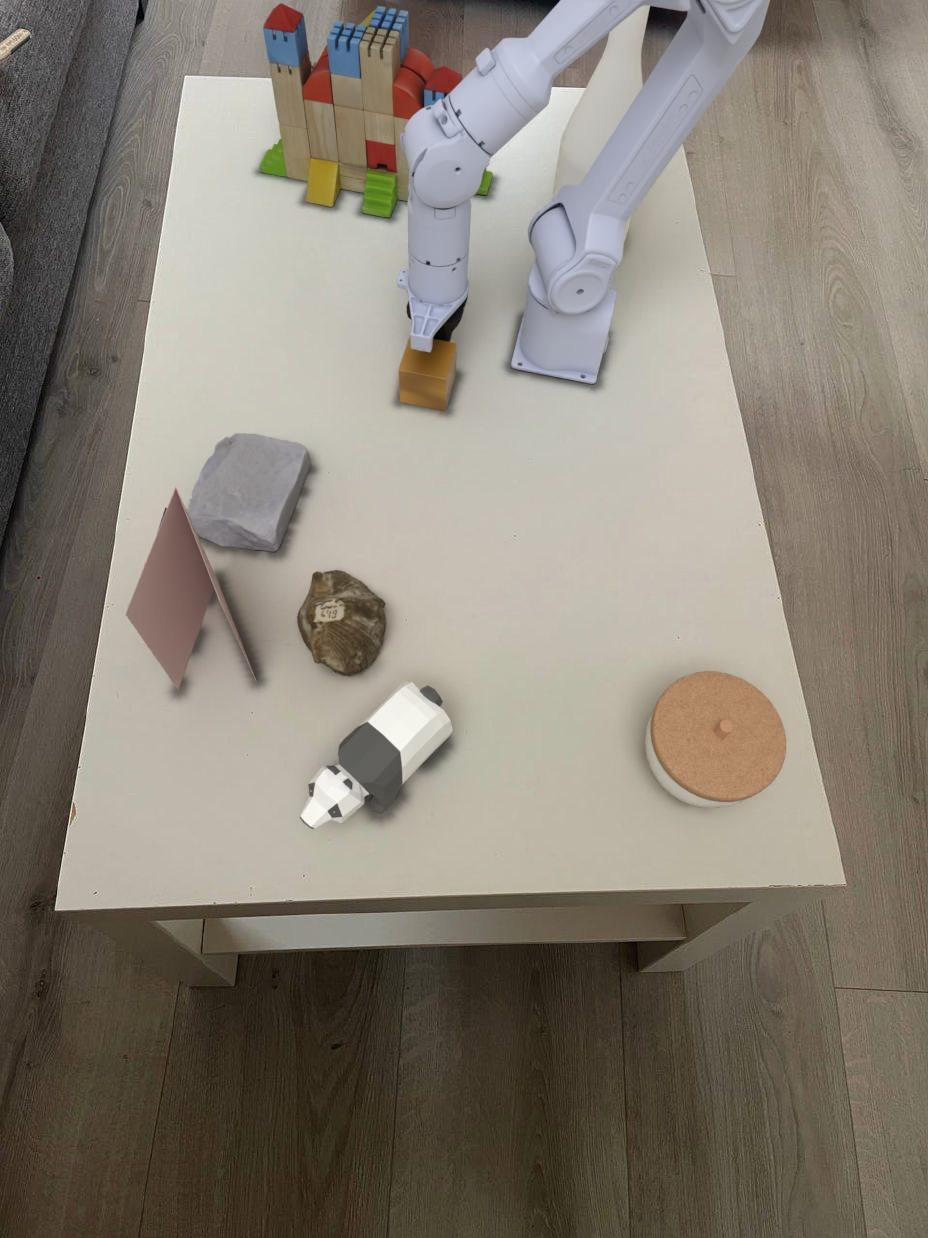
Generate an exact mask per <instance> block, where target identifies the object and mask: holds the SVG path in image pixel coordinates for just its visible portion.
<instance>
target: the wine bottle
mask: <svg viewBox="0 0 928 1238" xmlns="http://www.w3.org/2000/svg"><path fill="white" fill-rule="evenodd" d="M650 8H651V6H648V5H644V6H641V7H640V8H638V9H637V10H636V11H635V12H633V13H632V14H631V15H630V16H629V17H627V18H626V19H625V20H624V21H622V22H621V23H620V24H619V25H618V26H616V27H615V28H614V29H613V30H612V31H610V32H609V33H608V36H607V37H608V38H607V42H606V45H605V48H604V51H603V53H602V55H601V58H600V60H599V61H598V64H597V66H596V67H595V69H594V72H593V73H592V75H591V77H590V79H589V81H588V83H587V84H586V87H585V88H584V91H583V93H582V95H581V97H580V98H579V100H578V102H577V104H576V106H575V108H574V109H573V111H572V113H571V115H570V117H569V119H568V121H567V123H566V125H565V128H564V130H563V131H562V135H561V137H560V143H559V149H558V156H557V163H556V168H555V169H556V170H555V176H554V181H553V189H552V195H551V201H552V200H553V199H554V198H555V197H556V195H557V194H558V193H559V191H560V189H561V188H562V186H564V185H579V184H581V183H582V181H583V179H584V178H585V176H586V175H587V173H588V172H589V170H590V169H591V167H592V165H593V164H594V162H595V161H596V159H597V158H598V156H599V154H600V153H601V151H602V150H603V148H604V147H605V145H606V143H607V142H608V140H609V139H610V137H611V136H612V134H613V132H614V131H615V129H616V128H617V126H618V125H619V123H620V121H621V120H622V118H623V117H624V115H625V114H626V112H627V111H628V109H629V107H630V106H631V104H632V103H633V101H634V100H635V98H636V96H637V95H638V93H639V92H640V90H641V89H642V87H643V85H644V83H643V82H644V81H643V72H642V71H643V70H642V50H643V49H642V48H643V43H644V38H645V33H646V28H647V23H648V18H649V12H650ZM632 215H633V214H632ZM632 215H631V217H630V218H629V219H628V221H627V222H626V228H625V237H624V242H625V241H626V239H627V237H628V233H629V227H630V223H631V220H632Z"/></svg>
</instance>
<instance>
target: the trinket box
mask: <svg viewBox="0 0 928 1238" xmlns="http://www.w3.org/2000/svg"><path fill="white" fill-rule="evenodd" d="M644 736H645V737H644V750H645V757H646V762H647V765H648V767H649V769H650V771H651V773H652V775H653V777H654V778H655V780H656V781H657V783H658V784H659V785H660V786H661V787H662V788H663V789H664V790H665V791H666V792H667V793H668V794H670V796H672V797H674V798H675V799H677V800H678V801H680V802H682V803H684V804H686V805H689V806H693V807H696V808H697V807H698V808H703V809H721V808H727V807H731V806H734V805H737V804H740V803H742V802H745V801H746V800H748V799H751V798H752V797H755V796H756V795H758V794H760V793H761V792H763V791H764V790H765V789H767V788H768V787H769V786H771V784H772V783H773V782H774V781H775V780H776V778H777V777H778V776H779V773H780V772H781V771H782V768H783V765H784V763H785V760H786V754H787V736H786V731H785V727H784V724H783V721H782V719H781V716H780V714H779V711H778V710H777V709H776V707H775V706H774V704H773V703H772V701H770V699H769V698H768V697H767V696H766V695H765V694H764V693H763V692H762V691H761V690H760V689H758V688H757V687H756V686H755V685H753V684H752V683H750V682H748V681H747V680H745V679H743V678H741V677H739V676H736V675H733V674H730V673H727V672H721V671H714V670H713V671H708V670H707V671H699V672H698V671H697V672H694V673H690V674H686V675H685V676H683V677H681V678H678V679H677V680H676V681H674V682H673V683H672V684H670V685H669V686H668V687H667V688H666V689H665V690H664V691H663V693H662V694H661V695H660V697H659V699H658V700H657V701H656V704H655V706H654V709H653V711H652V712H651V715H650V717H649V719H648V722H647V725H646V730H645V735H644Z"/></svg>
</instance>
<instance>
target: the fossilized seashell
mask: <svg viewBox="0 0 928 1238" xmlns="http://www.w3.org/2000/svg"><path fill="white" fill-rule="evenodd" d="M310 581H311V582H310V587H309V589H308V593H307V595H306V597H305V599H304V601H303V603H302V605H301V607H300V608H299V610H298V612H297V616H296V618H297V626H298V630H299V632H300V637H301V638H302V641H303V643H304V644H305V647H307V649H308V650H309V651H310V653H312V659H313V662H314V663H315V664H321V665H324V666H325V667H327V668H329V669H331V670H332V672H334V673H336V674H338V675H341V676H343V677H353V676H355V675H357V674H360V673H363V672H364V671H366V670H367V669H368V668H369V667H370V666H371V665H372V664H373V663H374V662H375V660H376V658H377V657H378V655H379V653H380V650H381V648H382V646H383V645H384V644H383V643H384V638H385V637H384V636H385V633H386V629H387V627H386V626H387V618H386V613H385V606H386V602H385V600H384V599H382V598H381V597H379V596H377V595H376V594H375V593H374V592H373V591H372V590H371V589H370V588H369V587H368V585H366V584H365V583H364V582H363V581H362V580H360V579H358V578H357V577H355V576H352V575H351V574H350V573H348V572H346V571H343V570H339V569H333V570H328V571H324V572H321V571H315V572H313V573H312V575H311V580H310Z"/></svg>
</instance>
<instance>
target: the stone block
mask: <svg viewBox="0 0 928 1238" xmlns="http://www.w3.org/2000/svg"><path fill="white" fill-rule="evenodd" d="M310 467H311V456H310V452H309V450H308V448H307V447H306V446H305V445H303V444H302V443H299V442H296V441H290V440H287V439H280V438H275V437H271V436H266V435H262V434H257V433H247V432H243V433H242V432H237V433H236V432H235V433H234V434H232V435H231V436H230V437H229V436H226V437H224V438H222V439H221V440H220V441H218V442H217V443H216V444H215V446H214V450H213V453H212V455H210V456H209V457H208V458H207V460H206V461H205V463H204V465H203V467H202V468H201V470H200V473H199V475H198V479H197V480H196V482H195V483H194V485H193V488H192V491H191V497H190V499H189V504H188V507H187V510H186V511H187V513H188V515H189V517H190V520H191V522H192V524H193V526H194V529H195V531H196V533H197V535H198V537H200V538H202V539H204V540H208V541H209V542H211V543H213V544H215V545H217V546H219V547H223V548H241V549H248V550H253V551H255V550H258V551H266V552H272V553H273V552H276V551H278V550H279V548H280V547H281V545H282V542H283V540H284V537H285V535H286V531H287V529H288V526H289V524H290V521H291V518H292V516H293V513H294V511H295V507H296V505H297V503H298V500H299V497H300V494H301V492H302V488H303V487H304V485H305V484H304V483H305V481H306V479H307V477H308V473H309V471H310Z"/></svg>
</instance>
